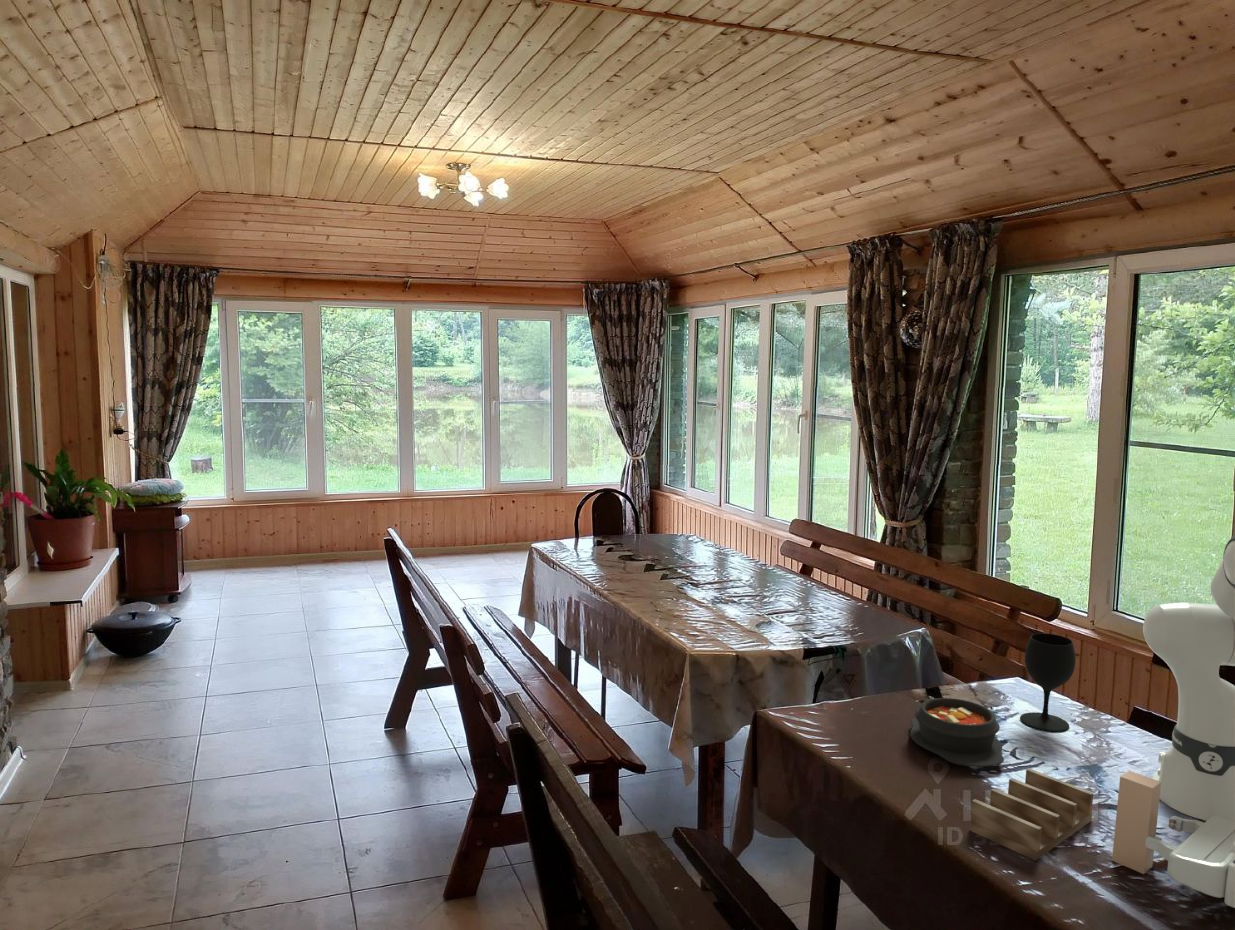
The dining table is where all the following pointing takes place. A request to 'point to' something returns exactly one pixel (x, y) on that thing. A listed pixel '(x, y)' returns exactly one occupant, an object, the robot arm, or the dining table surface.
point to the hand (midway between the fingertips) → (1158, 830)
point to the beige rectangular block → (1136, 821)
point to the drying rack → (1032, 814)
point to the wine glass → (1048, 675)
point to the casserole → (958, 732)
